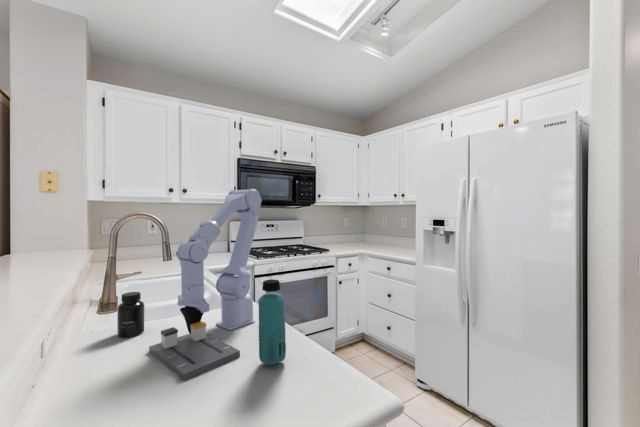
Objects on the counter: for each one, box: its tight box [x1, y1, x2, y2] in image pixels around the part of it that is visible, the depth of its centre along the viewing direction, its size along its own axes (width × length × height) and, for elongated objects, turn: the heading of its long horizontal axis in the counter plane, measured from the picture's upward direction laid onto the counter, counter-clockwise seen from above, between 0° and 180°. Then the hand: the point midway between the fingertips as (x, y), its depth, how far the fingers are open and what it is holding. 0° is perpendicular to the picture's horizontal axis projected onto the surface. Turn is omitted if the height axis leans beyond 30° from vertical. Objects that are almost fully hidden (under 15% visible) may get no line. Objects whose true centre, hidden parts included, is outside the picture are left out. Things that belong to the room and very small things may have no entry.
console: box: [148, 332, 241, 382], centre depth 77 cm, size 14×20×2 cm
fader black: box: [160, 327, 179, 349], centre depth 78 cm, size 3×3×4 cm
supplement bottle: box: [116, 291, 145, 339], centre depth 90 cm, size 7×7×12 cm
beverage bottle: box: [257, 279, 287, 365], centre depth 72 cm, size 6×7×20 cm
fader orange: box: [190, 321, 207, 341], centre depth 82 cm, size 3×3×4 cm
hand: (193, 332), depth 84 cm, fingers closed
